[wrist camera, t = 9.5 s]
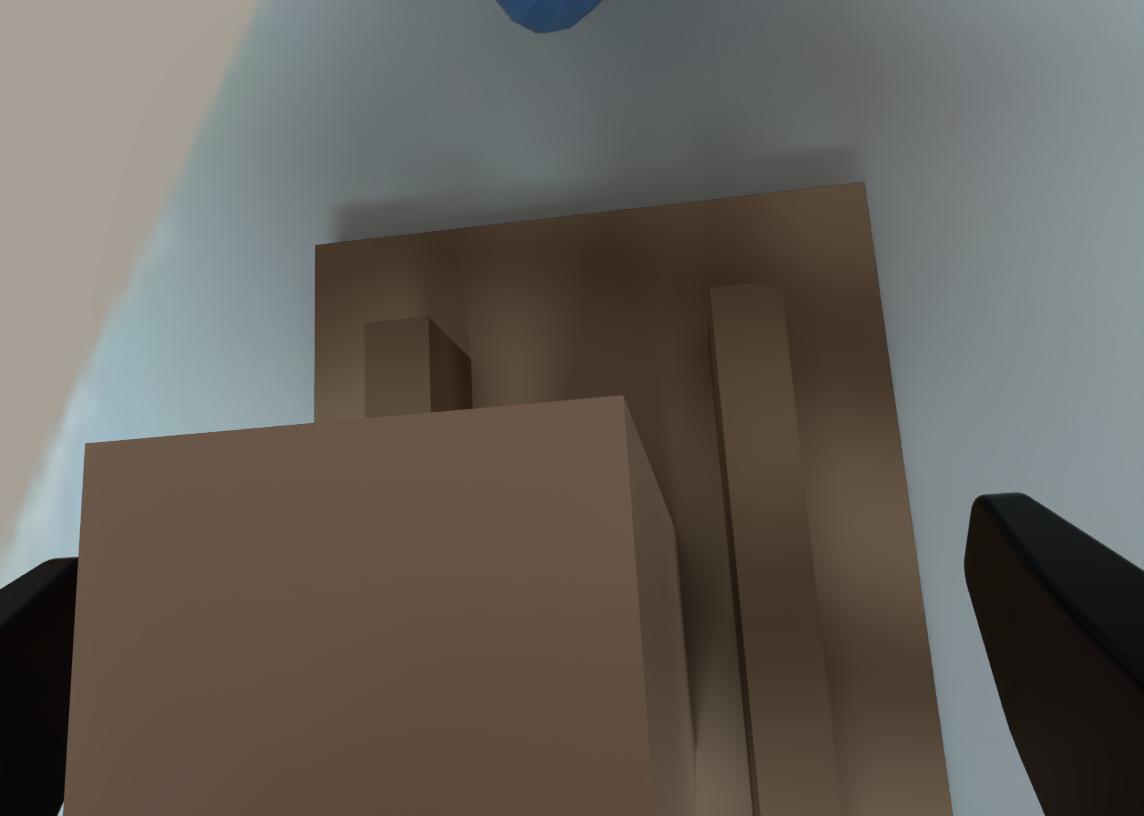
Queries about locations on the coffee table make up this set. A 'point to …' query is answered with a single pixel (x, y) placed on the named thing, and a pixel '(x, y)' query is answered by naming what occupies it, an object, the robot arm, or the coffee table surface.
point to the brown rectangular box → (382, 621)
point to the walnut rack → (701, 454)
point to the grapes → (547, 13)
